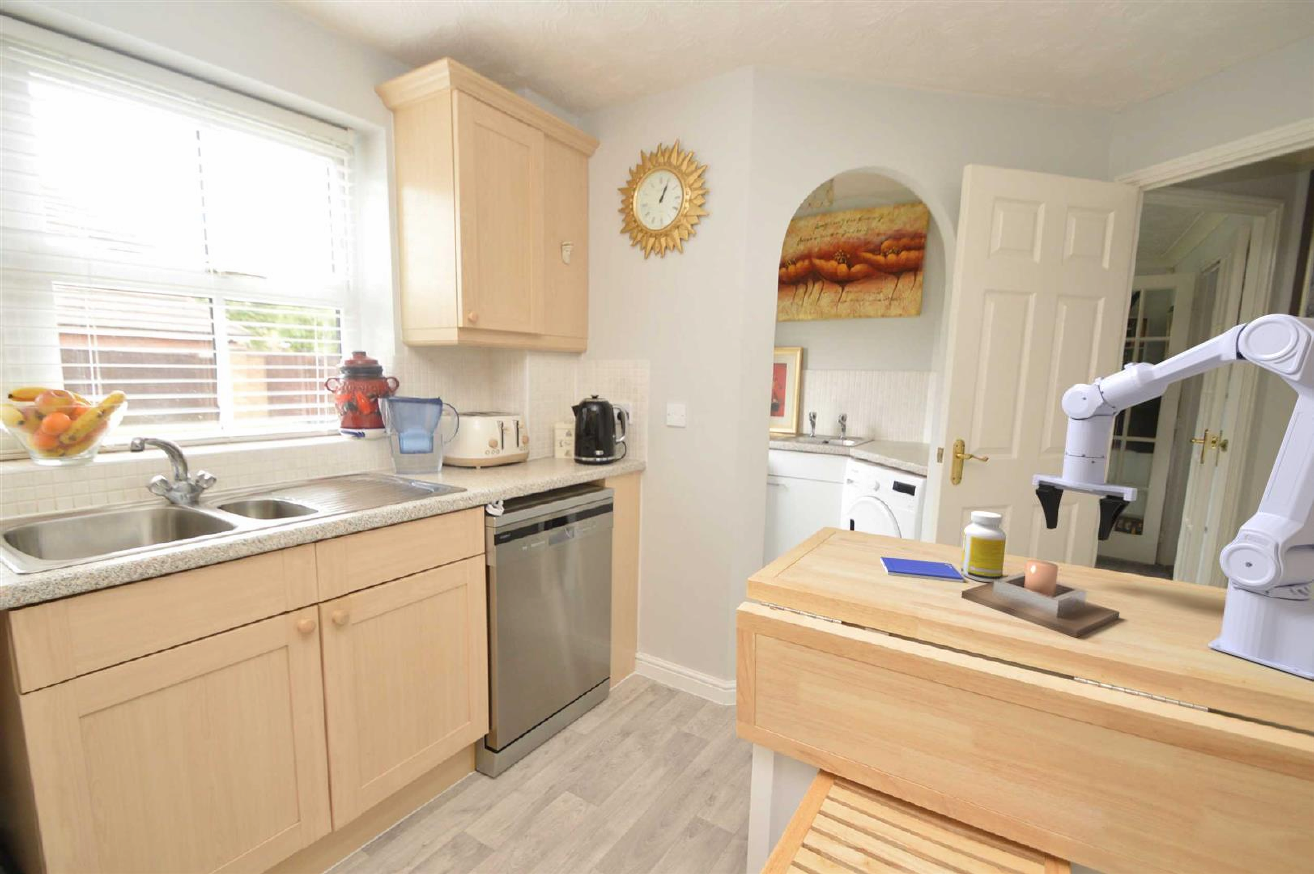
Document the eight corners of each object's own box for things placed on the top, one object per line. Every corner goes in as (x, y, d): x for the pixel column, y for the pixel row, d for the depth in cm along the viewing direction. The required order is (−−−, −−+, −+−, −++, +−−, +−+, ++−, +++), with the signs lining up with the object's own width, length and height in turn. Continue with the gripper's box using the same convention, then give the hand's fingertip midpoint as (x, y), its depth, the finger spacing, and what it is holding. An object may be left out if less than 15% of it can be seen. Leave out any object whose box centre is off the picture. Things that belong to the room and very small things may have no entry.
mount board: (1118, 618, 84) (1119, 611, 84) (1075, 637, 76) (1076, 630, 76) (1006, 583, 97) (1007, 577, 97) (961, 597, 90) (962, 591, 90)
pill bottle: (1007, 585, 96) (1014, 519, 95) (967, 581, 98) (973, 516, 96) (993, 572, 103) (999, 511, 101) (955, 569, 104) (960, 508, 103)
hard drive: (950, 562, 105) (880, 555, 107) (963, 576, 97) (888, 569, 99) (949, 570, 105) (879, 563, 108) (962, 585, 97) (887, 577, 100)
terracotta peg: (1058, 603, 86) (1063, 565, 85) (1046, 608, 84) (1050, 569, 83) (1030, 594, 89) (1034, 558, 89) (1017, 598, 87) (1021, 561, 87)
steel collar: (1084, 606, 85) (1086, 590, 85) (1056, 617, 81) (1058, 601, 80) (1021, 586, 93) (1023, 572, 93) (992, 596, 88) (994, 580, 88)
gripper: (1148, 460, 90) (1138, 542, 92) (1049, 449, 103) (1041, 521, 104) (1130, 462, 87) (1120, 547, 88) (1029, 451, 99) (1022, 525, 100)
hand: (1076, 533), depth 96 cm, fingers open, 7 cm apart
